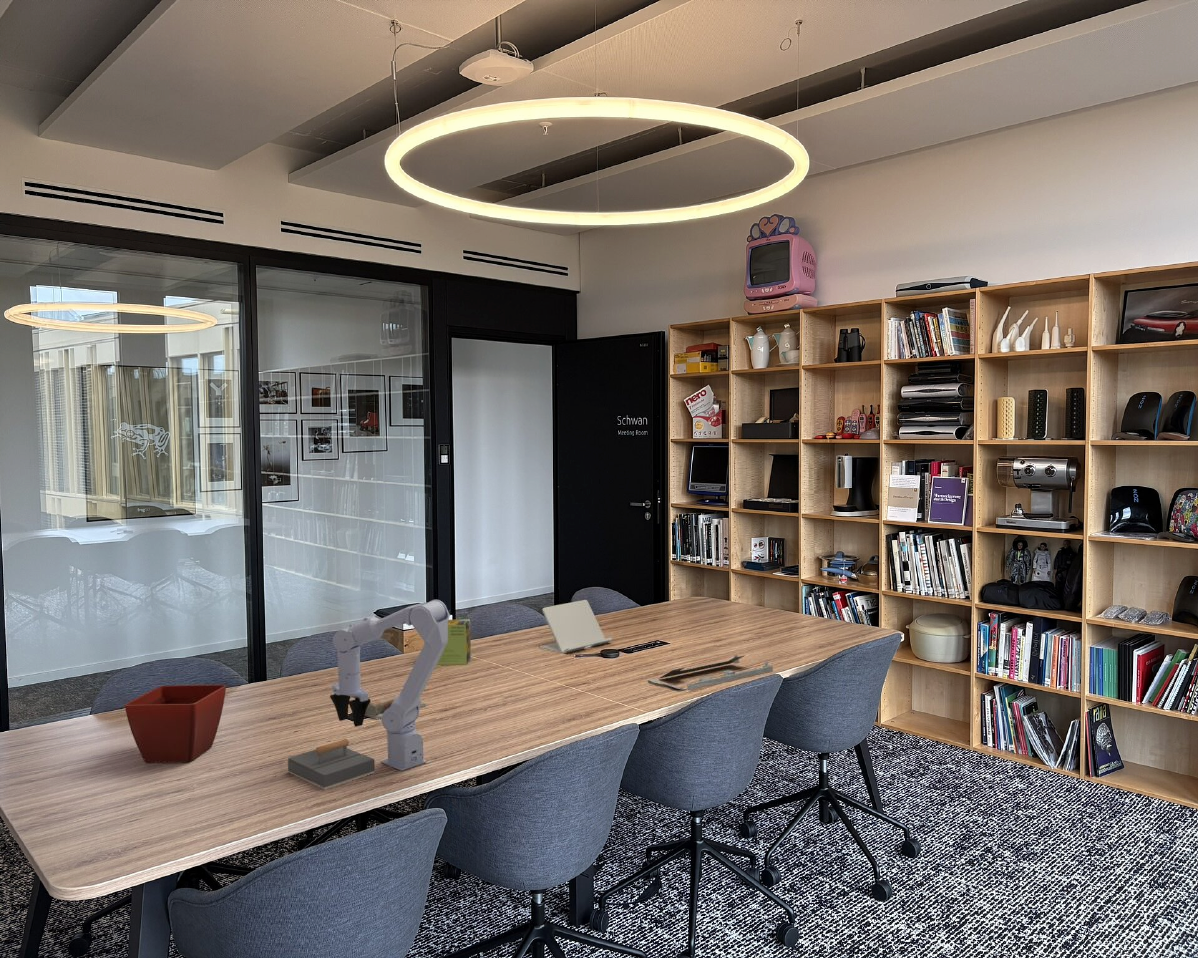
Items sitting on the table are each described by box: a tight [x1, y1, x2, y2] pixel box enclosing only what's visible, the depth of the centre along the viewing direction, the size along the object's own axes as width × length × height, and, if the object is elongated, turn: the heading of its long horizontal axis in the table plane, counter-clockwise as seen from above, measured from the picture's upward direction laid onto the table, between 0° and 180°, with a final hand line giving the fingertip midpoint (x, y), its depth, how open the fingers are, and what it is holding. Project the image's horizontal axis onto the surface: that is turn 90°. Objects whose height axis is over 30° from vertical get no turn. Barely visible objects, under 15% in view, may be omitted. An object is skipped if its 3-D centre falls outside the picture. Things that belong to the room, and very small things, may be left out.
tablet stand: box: [539, 599, 613, 655], centre depth 359 cm, size 18×25×17 cm
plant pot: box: [124, 684, 227, 764], centre depth 238 cm, size 19×19×17 cm
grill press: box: [287, 738, 361, 771], centre depth 225 cm, size 12×14×5 cm
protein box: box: [436, 618, 472, 666], centre depth 336 cm, size 10×15×16 cm
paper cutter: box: [646, 654, 773, 691], centre depth 309 cm, size 18×45×6 cm, turn 124°
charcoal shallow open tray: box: [287, 753, 376, 791], centre depth 224 cm, size 18×14×4 cm
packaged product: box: [364, 693, 427, 721], centre depth 276 cm, size 18×5×10 cm
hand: (350, 722), depth 234 cm, fingers open, 7 cm apart
